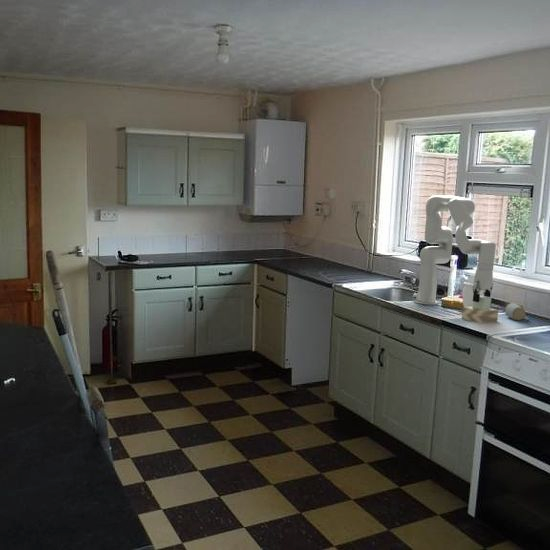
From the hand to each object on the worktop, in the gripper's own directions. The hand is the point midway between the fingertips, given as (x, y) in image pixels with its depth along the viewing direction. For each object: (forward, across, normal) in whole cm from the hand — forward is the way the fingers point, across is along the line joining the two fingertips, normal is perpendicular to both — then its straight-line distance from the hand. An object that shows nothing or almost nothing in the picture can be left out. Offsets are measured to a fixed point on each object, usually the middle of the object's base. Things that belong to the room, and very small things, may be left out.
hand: (481, 300), depth 310 cm
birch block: (+10, 0, 0) cm, 10 cm away
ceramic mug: (+10, -21, +9) cm, 25 cm away
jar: (+10, -16, -15) cm, 24 cm away
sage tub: (+4, 0, 0) cm, 4 cm away
